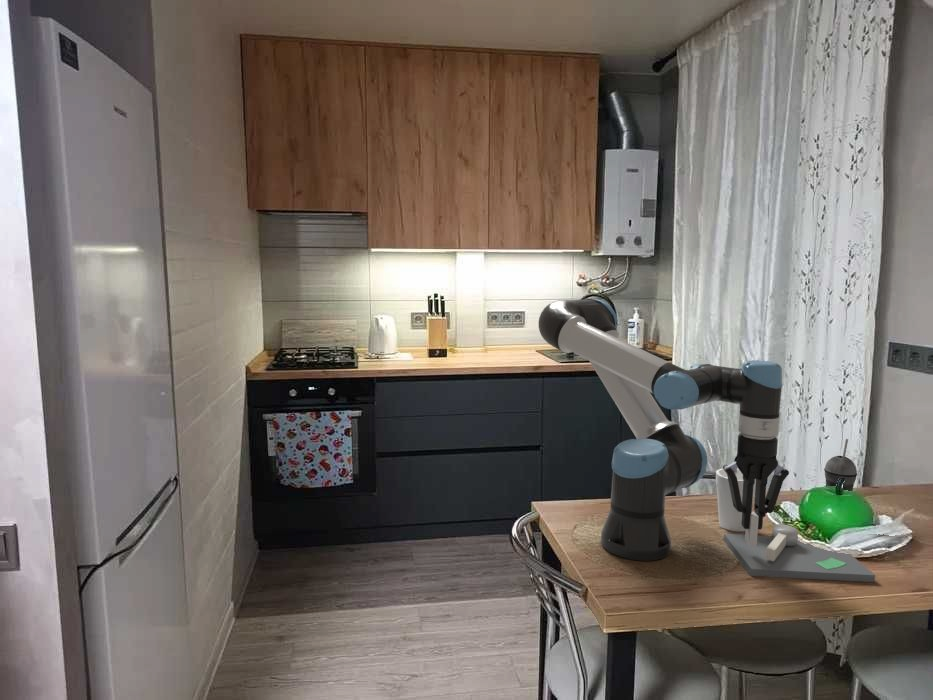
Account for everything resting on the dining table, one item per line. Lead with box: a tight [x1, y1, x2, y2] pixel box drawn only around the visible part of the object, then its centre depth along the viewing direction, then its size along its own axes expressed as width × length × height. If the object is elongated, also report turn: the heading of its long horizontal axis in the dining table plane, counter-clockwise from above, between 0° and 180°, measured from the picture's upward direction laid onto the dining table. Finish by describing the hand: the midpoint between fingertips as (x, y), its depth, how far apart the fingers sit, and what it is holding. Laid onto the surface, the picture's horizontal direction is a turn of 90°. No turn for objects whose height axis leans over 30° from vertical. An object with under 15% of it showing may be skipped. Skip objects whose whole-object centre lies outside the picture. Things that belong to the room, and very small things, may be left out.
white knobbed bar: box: [766, 523, 799, 561], centre depth 134 cm, size 15×5×3 cm, turn 140°
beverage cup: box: [823, 438, 858, 492], centre depth 157 cm, size 7×7×20 cm
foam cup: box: [715, 468, 756, 532], centre depth 150 cm, size 10×9×13 cm
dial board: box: [722, 533, 876, 583], centre depth 133 cm, size 24×17×2 cm
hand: (750, 542), depth 132 cm, fingers closed
